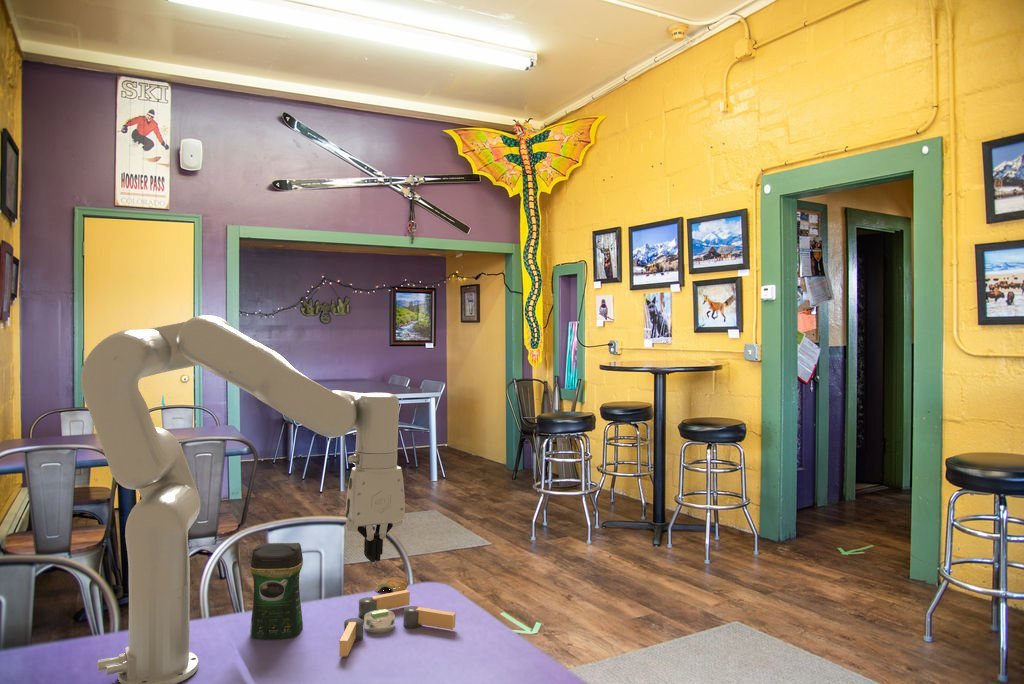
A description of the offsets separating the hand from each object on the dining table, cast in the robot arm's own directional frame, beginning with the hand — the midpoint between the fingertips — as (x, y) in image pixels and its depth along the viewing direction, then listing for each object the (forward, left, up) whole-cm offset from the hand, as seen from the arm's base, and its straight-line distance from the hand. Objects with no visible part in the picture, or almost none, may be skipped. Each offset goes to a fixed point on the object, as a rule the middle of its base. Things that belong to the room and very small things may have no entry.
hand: (373, 559), depth 133 cm
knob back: (+8, +15, -17) cm, 24 cm away
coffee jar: (-13, +16, -18) cm, 28 cm away
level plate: (+5, +8, -18) cm, 21 cm away
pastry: (+15, +27, -19) cm, 36 cm away
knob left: (-3, +3, -17) cm, 17 cm away
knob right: (+13, +3, -17) cm, 22 cm away
